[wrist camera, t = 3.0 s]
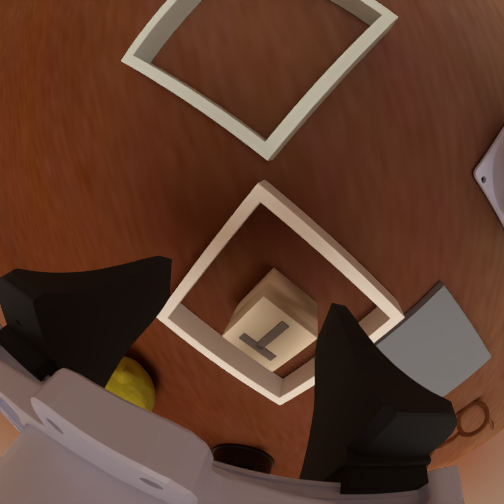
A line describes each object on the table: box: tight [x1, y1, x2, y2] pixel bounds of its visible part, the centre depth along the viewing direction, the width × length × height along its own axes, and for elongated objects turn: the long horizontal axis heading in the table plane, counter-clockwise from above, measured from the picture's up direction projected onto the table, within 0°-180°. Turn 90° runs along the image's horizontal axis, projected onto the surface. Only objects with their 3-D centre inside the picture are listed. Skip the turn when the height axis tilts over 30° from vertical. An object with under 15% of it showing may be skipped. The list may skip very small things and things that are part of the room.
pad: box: [374, 281, 491, 397], centre depth 20 cm, size 13×13×1 cm
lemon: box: [105, 356, 155, 412], centre depth 25 cm, size 11×8×8 cm
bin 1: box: [121, 0, 398, 161], centre depth 13 cm, size 14×14×2 cm
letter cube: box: [222, 267, 318, 372], centre depth 19 cm, size 4×4×5 cm
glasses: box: [426, 401, 494, 467], centre depth 22 cm, size 13×13×5 cm
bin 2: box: [157, 179, 405, 405], centre depth 20 cm, size 14×14×2 cm
